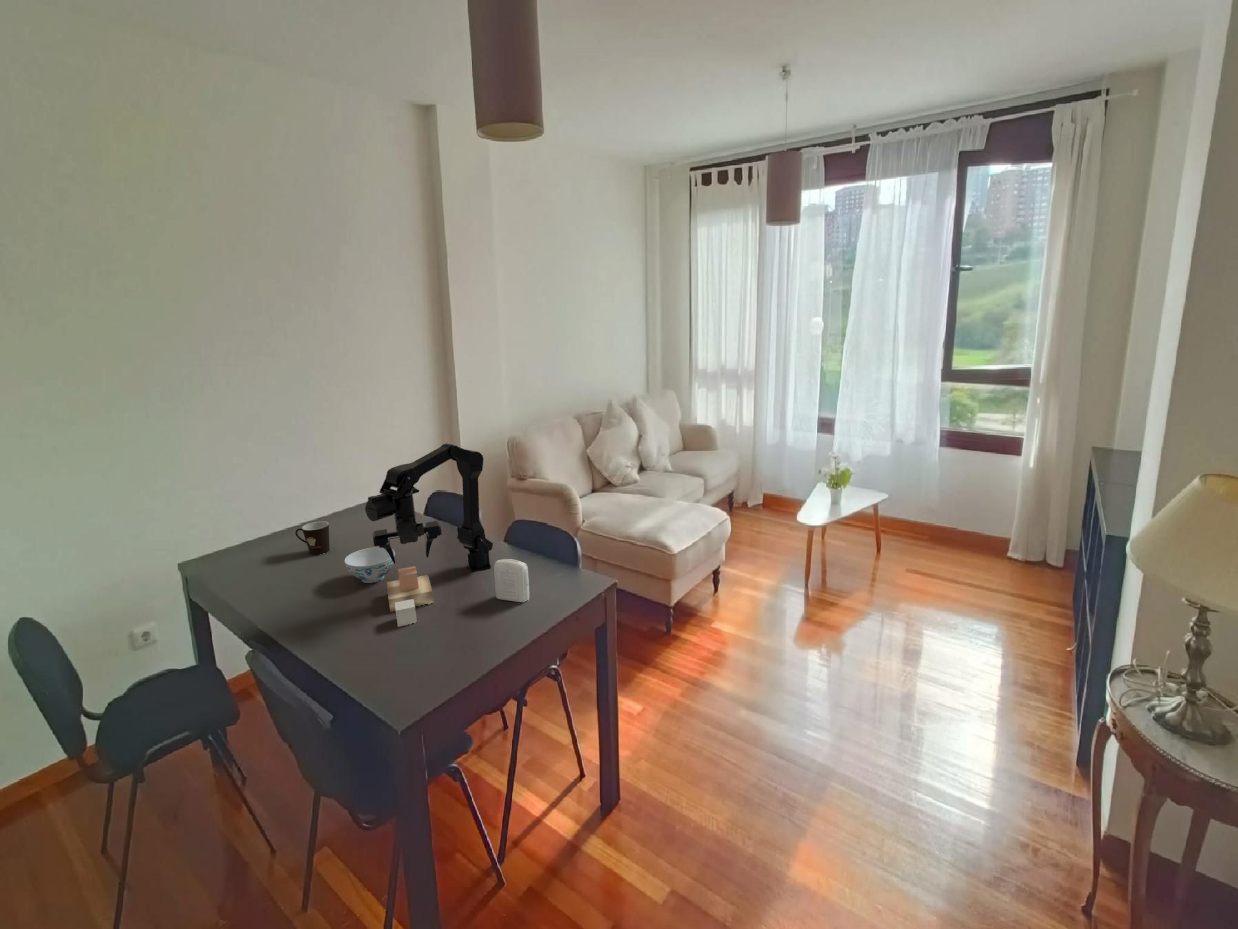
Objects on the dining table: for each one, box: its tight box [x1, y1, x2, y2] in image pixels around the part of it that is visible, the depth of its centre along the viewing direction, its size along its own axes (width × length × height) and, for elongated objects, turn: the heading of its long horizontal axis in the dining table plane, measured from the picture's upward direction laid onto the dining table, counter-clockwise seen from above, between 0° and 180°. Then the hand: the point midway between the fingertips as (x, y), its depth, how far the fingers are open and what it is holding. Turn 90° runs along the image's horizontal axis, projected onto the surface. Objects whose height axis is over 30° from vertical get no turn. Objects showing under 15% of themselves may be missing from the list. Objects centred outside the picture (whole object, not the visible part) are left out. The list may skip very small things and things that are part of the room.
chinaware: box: [343, 546, 396, 584], centre depth 196 cm, size 15×15×8 cm
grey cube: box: [395, 599, 418, 628], centre depth 170 cm, size 5×5×5 cm
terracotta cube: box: [397, 566, 419, 592], centre depth 181 cm, size 5×5×5 cm
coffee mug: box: [294, 520, 330, 556], centre depth 219 cm, size 12×9×10 cm
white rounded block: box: [493, 558, 530, 603], centre depth 180 cm, size 10×4×12 cm, turn 73°
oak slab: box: [386, 574, 435, 613], centre depth 182 cm, size 12×12×4 cm
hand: (411, 560), depth 181 cm, fingers open, 9 cm apart
